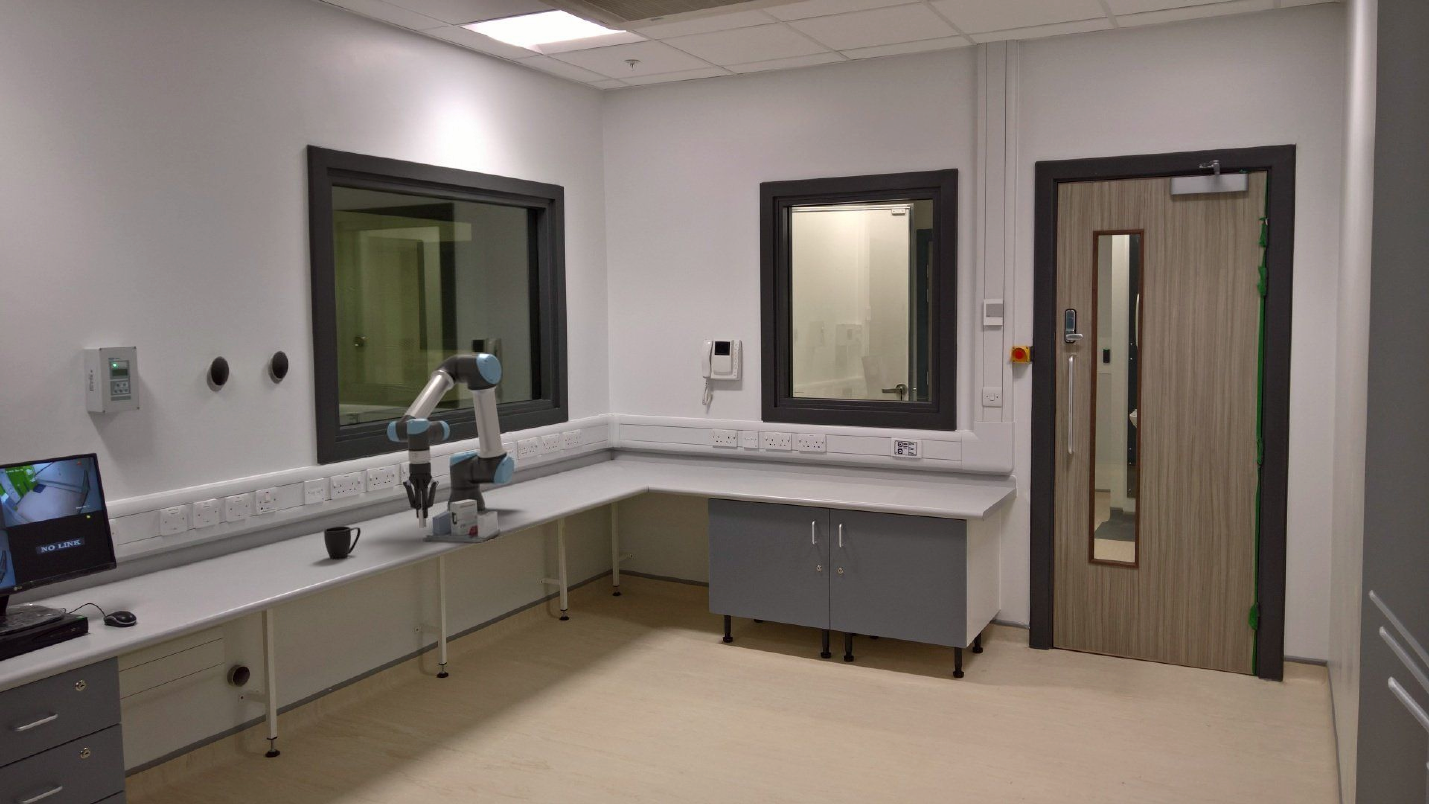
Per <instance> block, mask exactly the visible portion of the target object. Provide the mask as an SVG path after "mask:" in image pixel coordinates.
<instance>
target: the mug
mask: <svg viewBox="0 0 1429 804" xmlns="http://www.w3.org/2000/svg"><path fill="white" fill-rule="evenodd" d="M353 530H356V531H357V533H356V536H355V539H354V541H353V543H352V545H351V542H352V531H353ZM360 535H361V528H360V527H359V526H358V527H357V526H356V527H352V528H351V527H349V526H333V527H328V528H325V529H324V530H323V538H324V540H323V541H324V545H325V548H326V552H327V555H328V557H329V559H331V560H342V559H346V558H348V556H349V555H350V554H351V553H352V552H353V550H354V549H355V547H356V545H357V543H358V541H359V538H360Z"/></svg>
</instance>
